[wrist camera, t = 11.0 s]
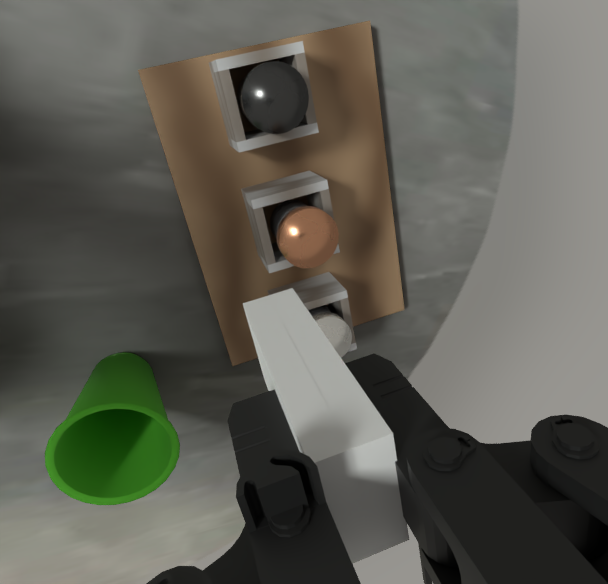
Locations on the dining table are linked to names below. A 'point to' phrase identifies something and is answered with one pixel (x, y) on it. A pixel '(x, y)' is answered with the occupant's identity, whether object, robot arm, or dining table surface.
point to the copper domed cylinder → (304, 233)
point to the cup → (114, 436)
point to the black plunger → (273, 97)
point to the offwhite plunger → (333, 328)
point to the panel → (282, 178)
